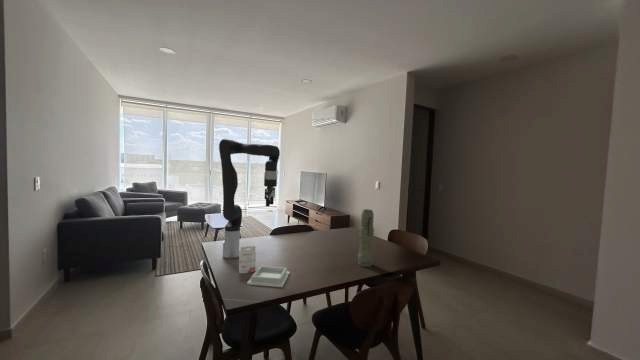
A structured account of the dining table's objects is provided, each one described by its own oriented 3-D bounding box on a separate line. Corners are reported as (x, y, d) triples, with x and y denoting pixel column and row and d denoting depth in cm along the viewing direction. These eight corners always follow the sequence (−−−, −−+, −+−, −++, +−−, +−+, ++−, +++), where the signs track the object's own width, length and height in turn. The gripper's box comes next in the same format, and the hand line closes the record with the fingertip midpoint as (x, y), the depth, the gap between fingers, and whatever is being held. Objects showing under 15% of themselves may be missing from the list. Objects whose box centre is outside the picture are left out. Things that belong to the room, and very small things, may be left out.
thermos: (366, 260, 175) (368, 208, 173) (375, 267, 164) (378, 211, 162) (354, 261, 172) (357, 208, 170) (363, 268, 161) (366, 211, 159)
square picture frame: (247, 284, 132) (247, 277, 132) (258, 270, 150) (258, 264, 150) (282, 287, 130) (282, 280, 130) (289, 273, 148) (289, 267, 148)
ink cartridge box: (253, 268, 152) (254, 243, 152) (255, 272, 148) (256, 246, 147) (238, 270, 149) (239, 244, 148) (239, 273, 144) (240, 247, 144)
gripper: (267, 177, 166) (266, 203, 166) (260, 178, 152) (259, 206, 152) (279, 178, 165) (278, 204, 166) (273, 179, 151) (272, 207, 152)
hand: (269, 205), depth 159 cm, fingers open, 8 cm apart
